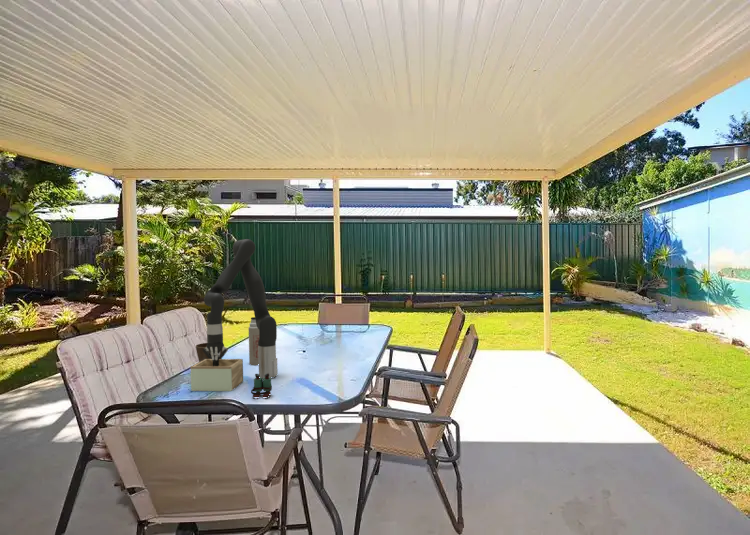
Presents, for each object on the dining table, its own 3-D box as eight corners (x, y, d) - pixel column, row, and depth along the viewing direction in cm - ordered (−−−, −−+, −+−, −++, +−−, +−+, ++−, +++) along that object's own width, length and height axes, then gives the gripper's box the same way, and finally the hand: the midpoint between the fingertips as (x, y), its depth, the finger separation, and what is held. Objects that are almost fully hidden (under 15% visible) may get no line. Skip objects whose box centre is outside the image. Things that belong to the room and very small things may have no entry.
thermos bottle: (263, 364, 299) (262, 318, 298) (249, 365, 297) (248, 318, 296) (262, 361, 307) (261, 316, 306) (249, 362, 305) (248, 316, 304)
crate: (243, 381, 262) (242, 359, 261) (232, 390, 246) (231, 366, 246) (206, 381, 263) (205, 359, 263) (192, 390, 248) (192, 366, 247)
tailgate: (232, 390, 246) (231, 366, 245) (231, 391, 244) (230, 367, 244) (192, 390, 247) (191, 366, 247) (191, 390, 246) (190, 366, 246)
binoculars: (249, 380, 228) (253, 372, 238) (250, 402, 230) (254, 393, 240) (269, 379, 229) (272, 371, 239) (270, 401, 230) (273, 393, 240)
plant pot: (214, 368, 292) (214, 341, 292) (230, 372, 283) (229, 344, 282) (191, 373, 281) (190, 345, 280) (206, 377, 271) (205, 348, 271)
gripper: (230, 331, 254) (231, 365, 255) (205, 331, 255) (206, 365, 256) (224, 334, 247) (225, 369, 248) (198, 334, 248) (199, 368, 249)
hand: (215, 367), depth 252 cm, fingers closed
